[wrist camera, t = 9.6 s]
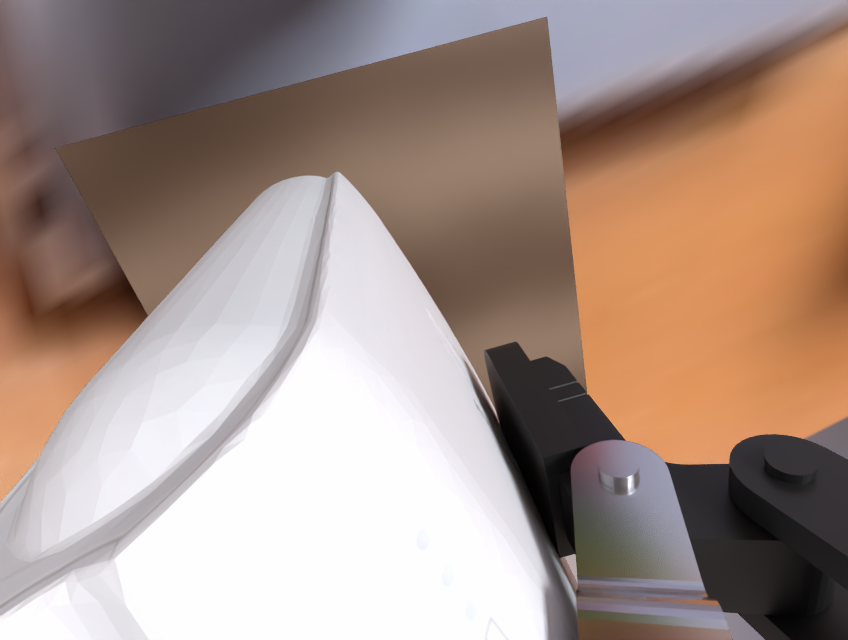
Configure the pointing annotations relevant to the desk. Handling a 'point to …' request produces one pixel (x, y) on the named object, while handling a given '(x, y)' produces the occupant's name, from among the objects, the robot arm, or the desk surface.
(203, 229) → the walnut block
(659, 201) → the desk surface
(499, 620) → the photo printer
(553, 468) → the robot arm
